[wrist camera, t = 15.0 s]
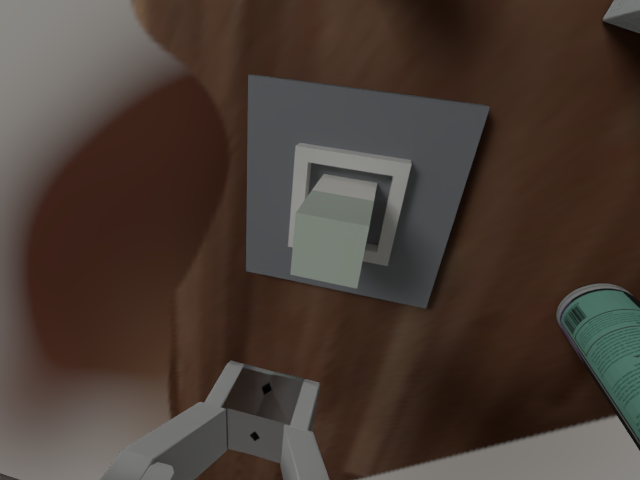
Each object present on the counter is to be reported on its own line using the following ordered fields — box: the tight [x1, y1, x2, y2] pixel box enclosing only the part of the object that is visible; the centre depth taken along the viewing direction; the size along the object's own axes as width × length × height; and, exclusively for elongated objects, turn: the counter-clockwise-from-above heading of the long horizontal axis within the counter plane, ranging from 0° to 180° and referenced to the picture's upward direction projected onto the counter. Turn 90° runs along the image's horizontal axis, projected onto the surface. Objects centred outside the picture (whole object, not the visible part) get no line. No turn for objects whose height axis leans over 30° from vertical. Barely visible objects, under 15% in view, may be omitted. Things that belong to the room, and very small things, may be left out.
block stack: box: [290, 174, 377, 289], centre depth 22 cm, size 4×4×8 cm
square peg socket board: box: [246, 75, 490, 309], centre depth 26 cm, size 16×16×3 cm
